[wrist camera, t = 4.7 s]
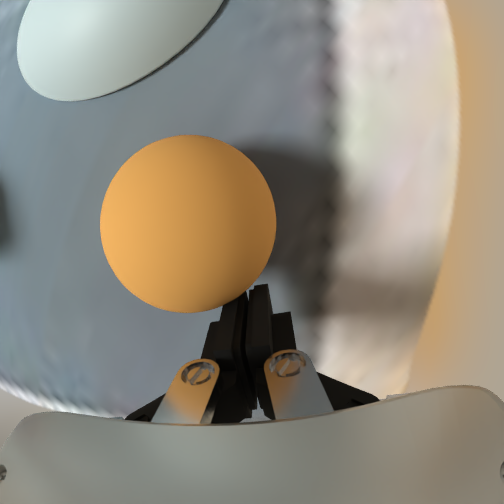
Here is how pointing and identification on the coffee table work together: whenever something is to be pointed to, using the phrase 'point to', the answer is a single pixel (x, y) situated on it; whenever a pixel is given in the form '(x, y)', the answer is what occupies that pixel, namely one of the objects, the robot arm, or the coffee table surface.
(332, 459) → the robot arm
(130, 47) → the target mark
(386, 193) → the coffee table surface
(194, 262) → the ball
